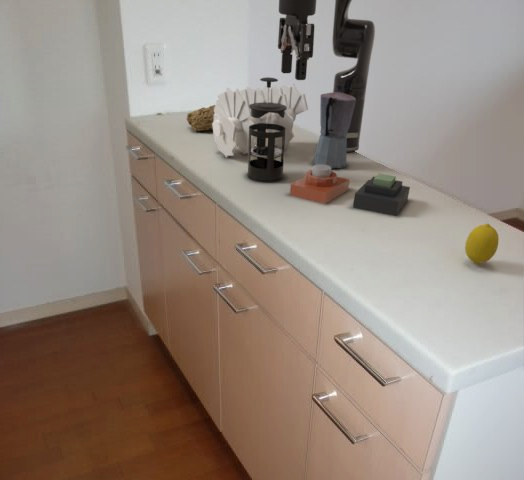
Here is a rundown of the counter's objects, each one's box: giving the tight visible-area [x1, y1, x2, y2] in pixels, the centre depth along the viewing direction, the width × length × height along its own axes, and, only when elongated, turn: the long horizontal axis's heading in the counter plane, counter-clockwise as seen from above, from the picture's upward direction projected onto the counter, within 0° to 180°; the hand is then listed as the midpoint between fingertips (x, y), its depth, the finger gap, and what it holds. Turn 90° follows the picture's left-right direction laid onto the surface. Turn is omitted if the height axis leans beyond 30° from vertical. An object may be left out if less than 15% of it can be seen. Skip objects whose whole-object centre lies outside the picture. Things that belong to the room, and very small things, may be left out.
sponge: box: [186, 104, 216, 132], centre depth 178 cm, size 13×8×20 cm
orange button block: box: [289, 169, 350, 205], centre depth 131 cm, size 12×10×4 cm
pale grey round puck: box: [311, 164, 332, 178], centre depth 130 cm, size 4×4×2 cm
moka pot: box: [313, 85, 356, 169], centre depth 145 cm, size 10×15×20 cm, turn 161°
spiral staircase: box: [212, 83, 309, 159], centre depth 154 cm, size 18×18×25 cm
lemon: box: [464, 223, 499, 265], centre depth 101 cm, size 6×6×8 cm
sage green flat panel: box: [373, 173, 397, 188], centre depth 125 cm, size 4×4×2 cm
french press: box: [246, 76, 287, 184], centre depth 135 cm, size 12×9×23 cm
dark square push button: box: [352, 176, 411, 217], centre depth 126 cm, size 11×10×5 cm
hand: (293, 76), depth 119 cm, fingers open, 8 cm apart
